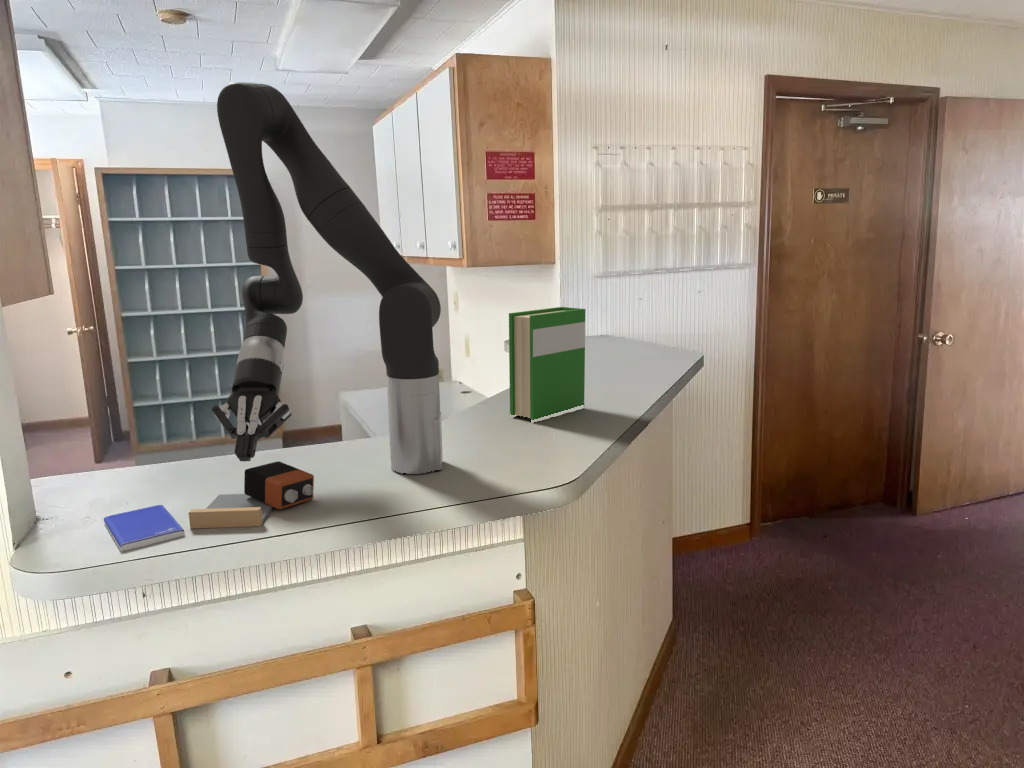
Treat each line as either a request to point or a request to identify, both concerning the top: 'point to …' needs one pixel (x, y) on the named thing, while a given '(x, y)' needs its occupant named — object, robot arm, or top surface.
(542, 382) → the hardback book
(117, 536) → the hard drive
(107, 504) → the top surface
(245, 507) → the dough scraper
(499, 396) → the top surface
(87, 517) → the top surface
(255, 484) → the battery
